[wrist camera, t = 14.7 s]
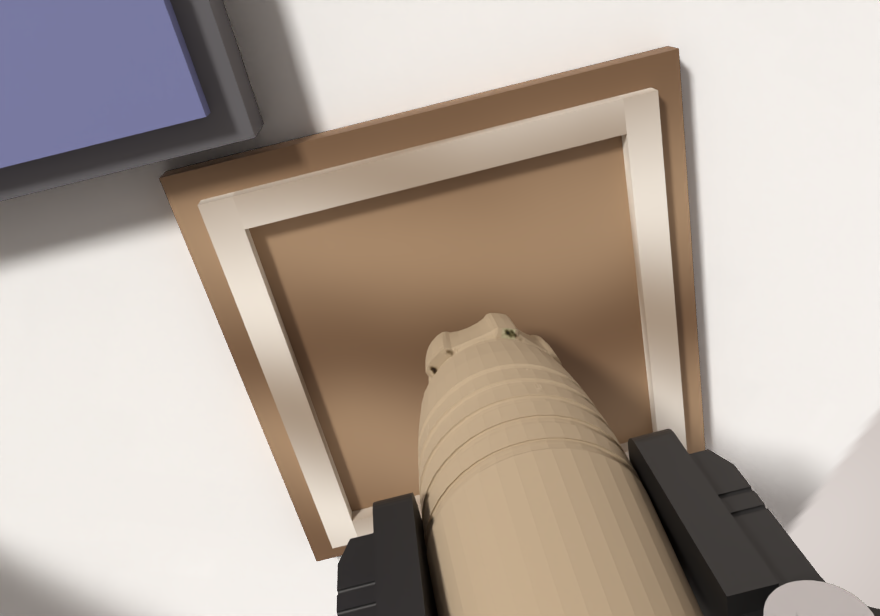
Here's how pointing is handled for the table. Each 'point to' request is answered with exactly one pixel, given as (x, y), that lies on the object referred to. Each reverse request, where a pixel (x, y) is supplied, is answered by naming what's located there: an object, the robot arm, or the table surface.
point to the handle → (532, 490)
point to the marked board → (451, 269)
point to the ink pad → (115, 87)
